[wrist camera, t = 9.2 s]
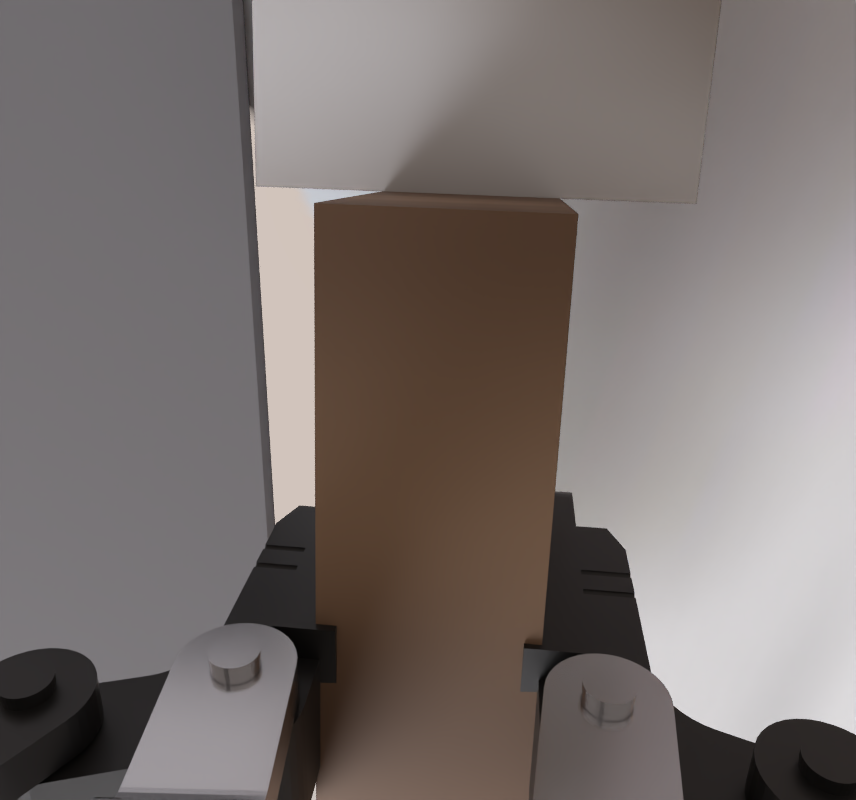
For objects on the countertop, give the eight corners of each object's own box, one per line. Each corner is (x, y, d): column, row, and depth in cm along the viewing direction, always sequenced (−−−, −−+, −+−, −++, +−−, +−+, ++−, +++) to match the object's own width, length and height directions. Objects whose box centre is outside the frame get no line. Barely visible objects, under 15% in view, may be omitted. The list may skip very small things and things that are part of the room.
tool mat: (-366, -164, 15) (-400, -172, 14) (232, -165, 14) (220, -174, 13) (-87, 756, 23) (-102, 773, 23) (291, 796, 22) (285, 814, 22)
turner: (605, 884, 15) (640, 1181, 10) (281, 846, 15) (187, 1111, 11) (775, -531, 9) (999, -1145, 5) (256, -506, 10) (45, -1041, 5)
